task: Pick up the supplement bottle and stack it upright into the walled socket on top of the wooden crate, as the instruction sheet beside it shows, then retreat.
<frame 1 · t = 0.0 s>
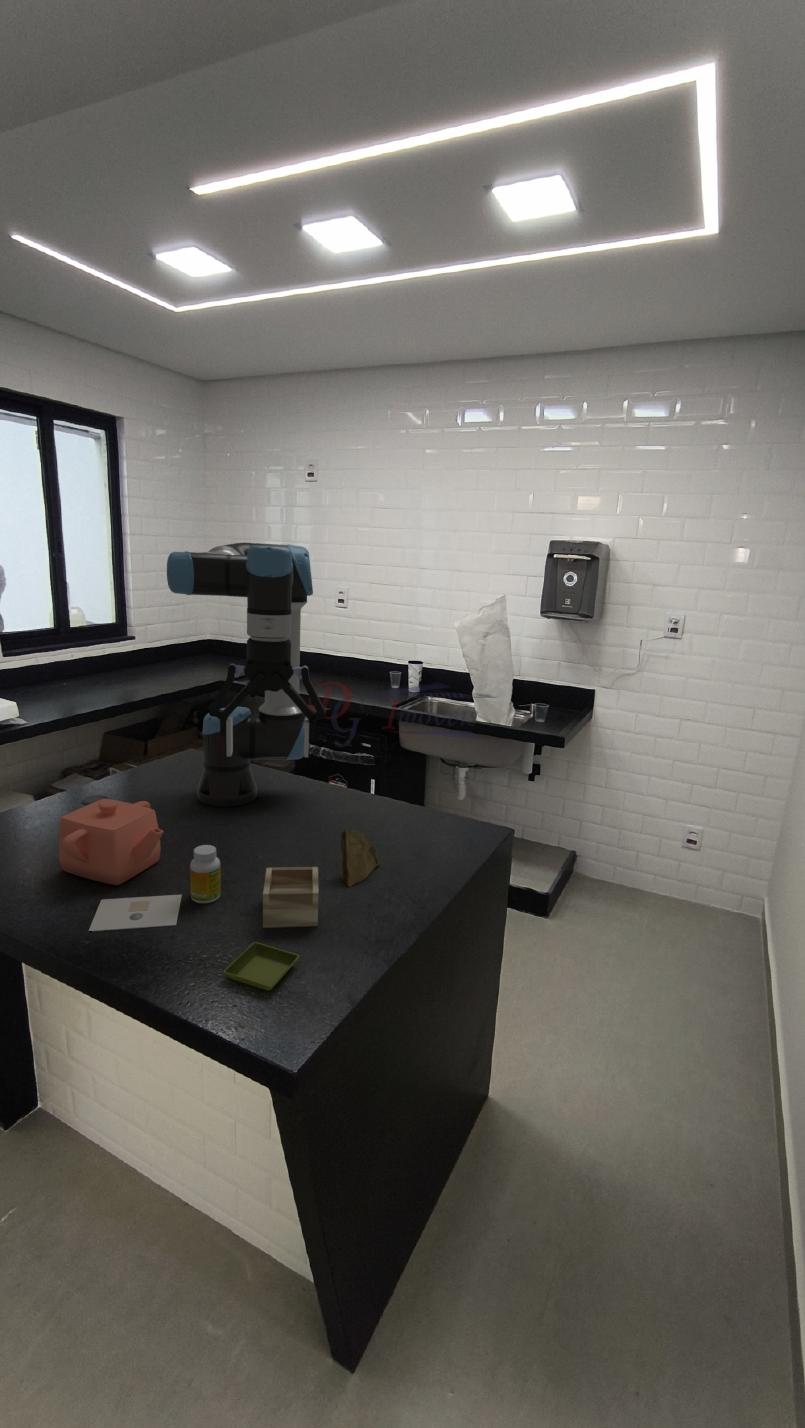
hand: (268, 754, 116), 28 cm above the kitchen island, fingers open, 13 cm apart
green tray: (262, 975, 101), on the kitchen island
instruction sheet: (137, 912, 115), on the kitchen island
rock: (361, 874, 133), on the kitchen island
teapot: (121, 870, 129), on the kitchen island
wooden crate: (291, 912, 118), on the kitchen island
supplement bottle: (205, 897, 121), on the kitchen island
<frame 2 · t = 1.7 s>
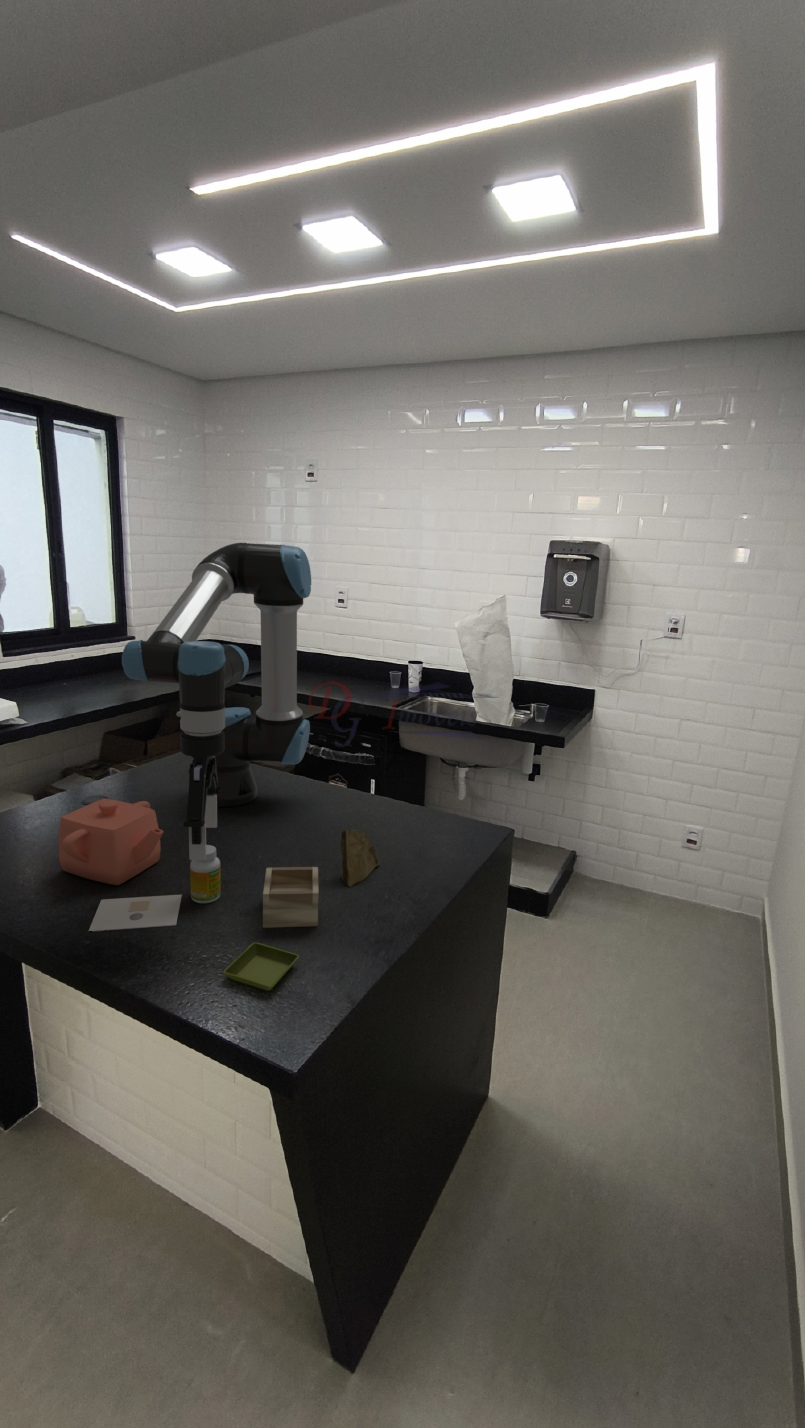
hand: (204, 842, 118), 11 cm above the kitchen island, fingers open, 13 cm apart
nothing on the kitchen island moved.
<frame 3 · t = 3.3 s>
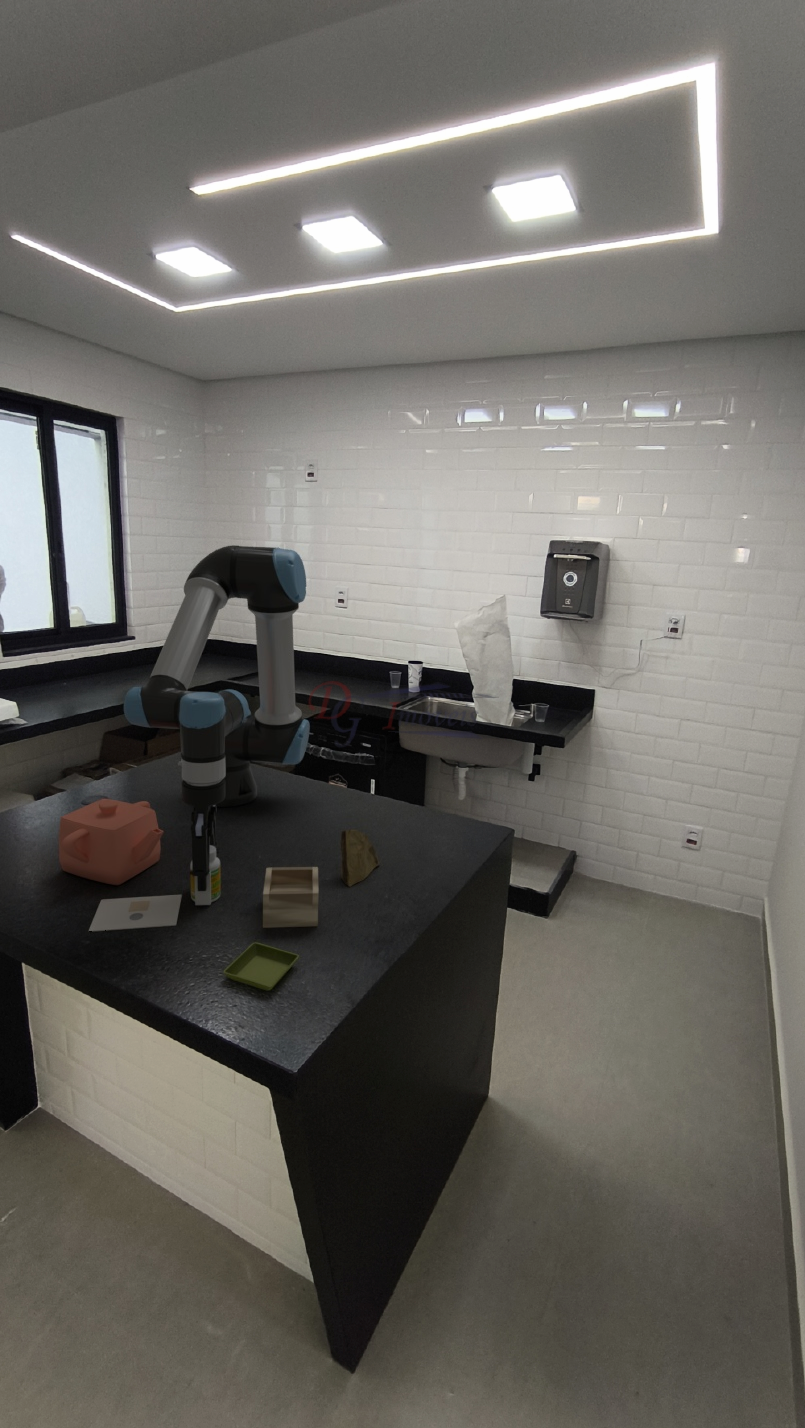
hand: (205, 894, 121), 0 cm above the kitchen island, fingers closed on supplement bottle, 5 cm apart
supplement bottle: (205, 897, 121), on the kitchen island, touching gripper
everything else where it was.
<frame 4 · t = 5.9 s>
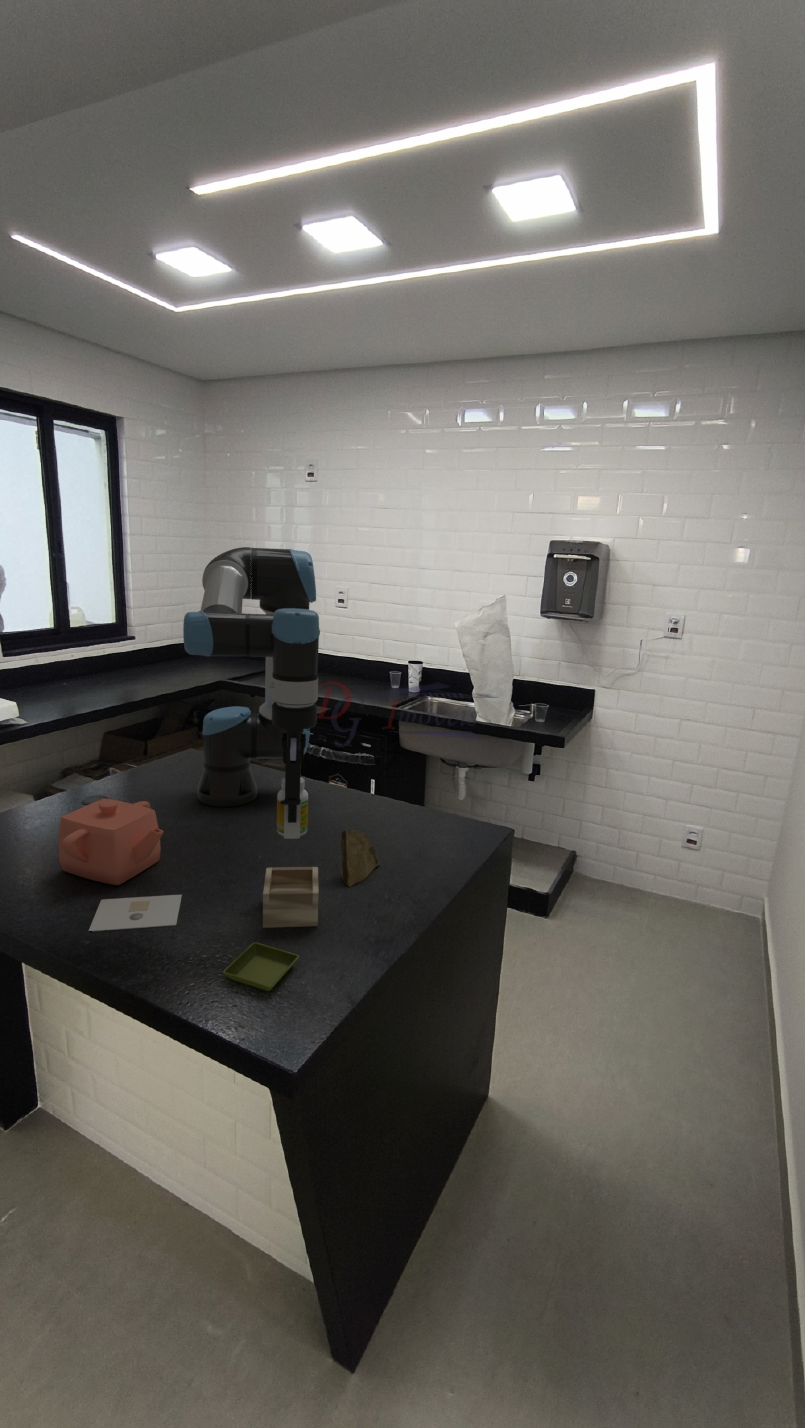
hand: (292, 829, 114), 16 cm above the kitchen island, fingers closed on supplement bottle, 5 cm apart
supplement bottle: (292, 832, 114), point 16 cm above the kitchen island, touching gripper
everything else where it was.
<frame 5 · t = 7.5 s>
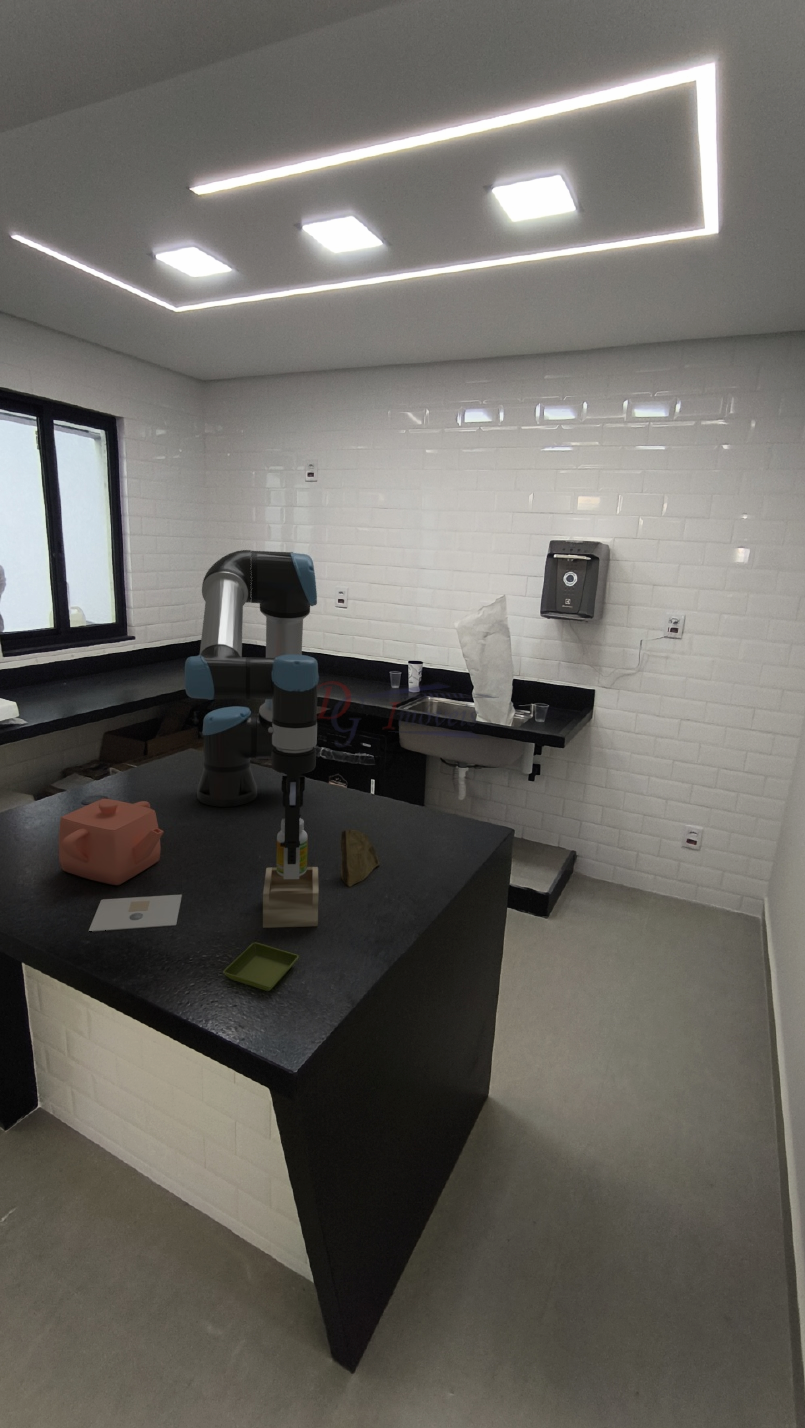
hand: (291, 869, 115), 9 cm above the kitchen island, fingers closed on supplement bottle, 5 cm apart
supplement bottle: (291, 872, 116), point 8 cm above the kitchen island, touching gripper
everything else where it was.
when the fingers open (8 cm above the kitchen island, at t = 8.7 s): supplement bottle drops 4 cm, resting on wooden crate.
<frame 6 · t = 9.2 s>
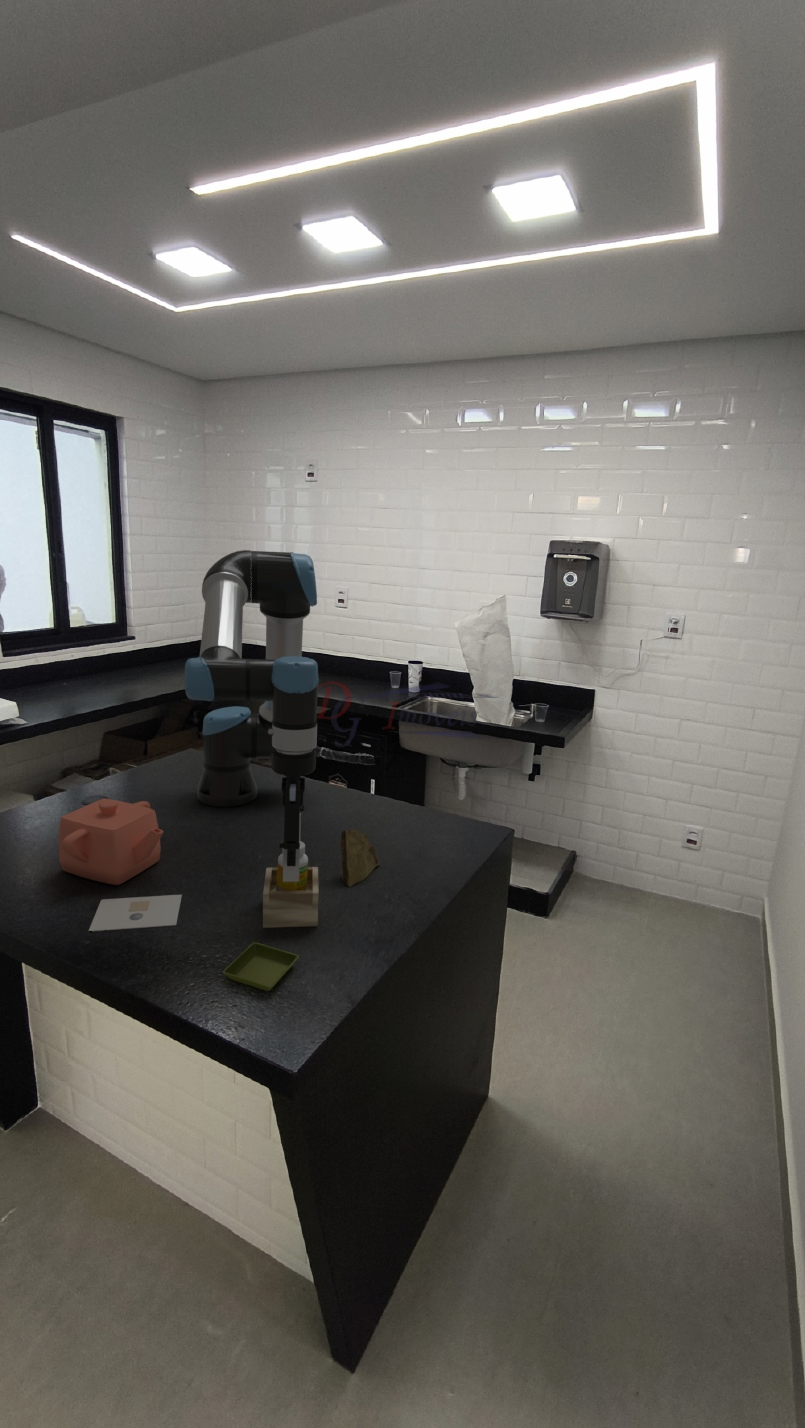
hand: (292, 862, 115), 10 cm above the kitchen island, fingers open, 12 cm apart
supplement bottle: (290, 894, 117), point 3 cm above the kitchen island, touching wooden crate
everything else where it was.
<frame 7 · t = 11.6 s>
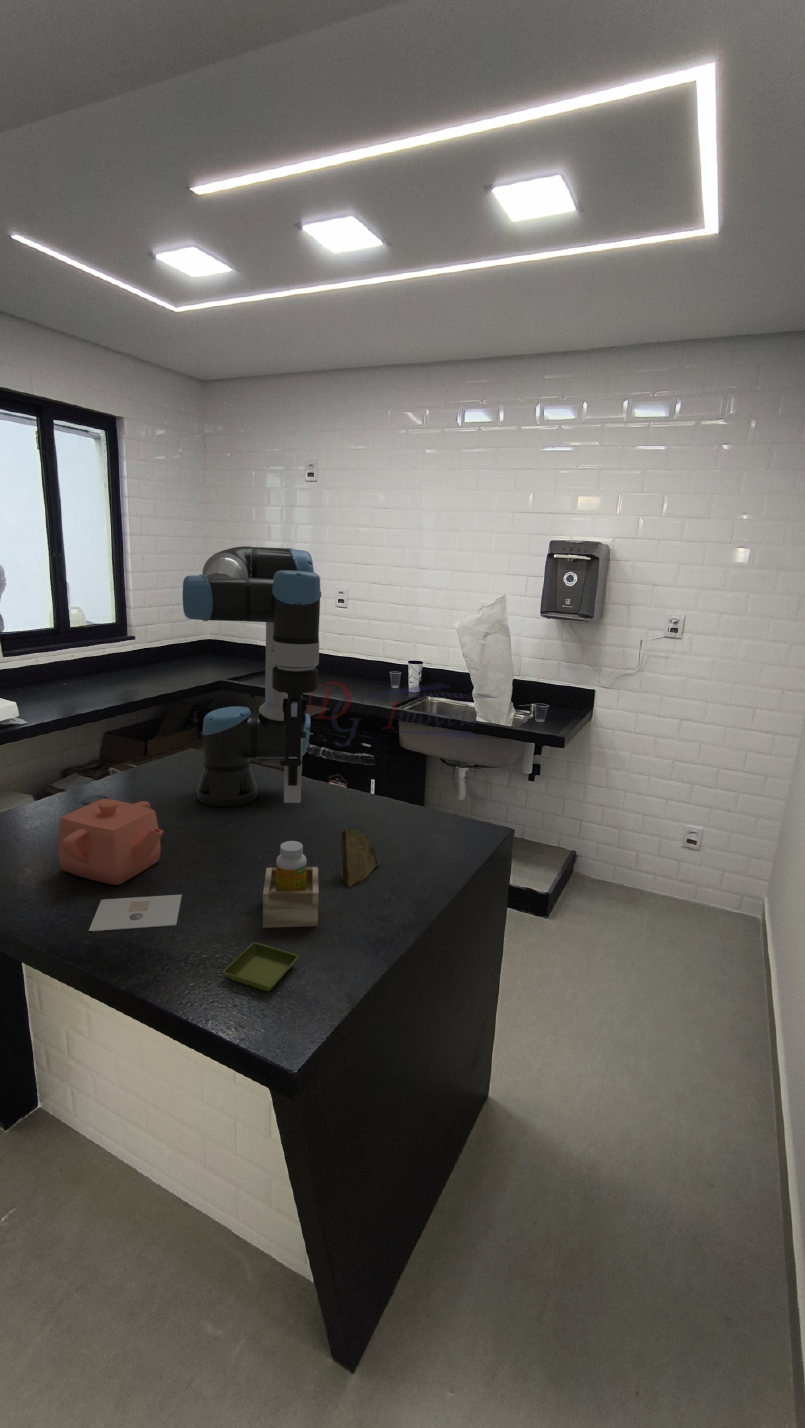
hand: (293, 786, 112), 24 cm above the kitchen island, fingers open, 13 cm apart
nothing on the kitchen island moved.
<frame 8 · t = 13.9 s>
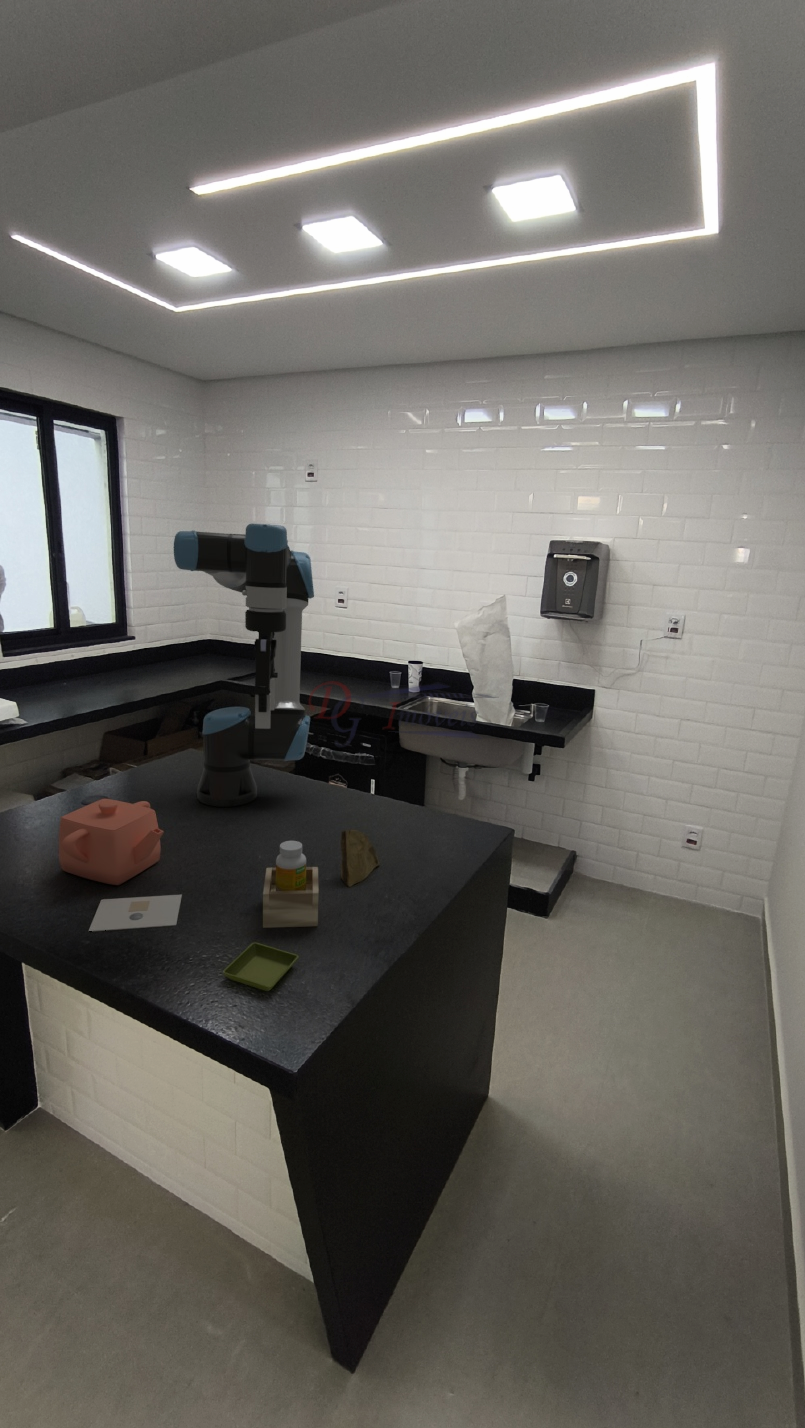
hand: (265, 718, 126), 32 cm above the kitchen island, fingers open, 13 cm apart
nothing on the kitchen island moved.
at the end: supplement bottle inside the target area on the wooden crate (0.1 cm from its centre), point 3.3 cm above the wooden crate's base; supplement bottle tilted 1°; the gripper is holding nothing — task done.
